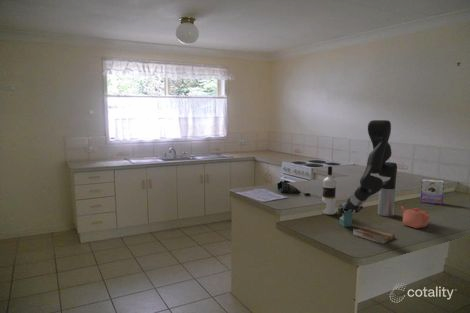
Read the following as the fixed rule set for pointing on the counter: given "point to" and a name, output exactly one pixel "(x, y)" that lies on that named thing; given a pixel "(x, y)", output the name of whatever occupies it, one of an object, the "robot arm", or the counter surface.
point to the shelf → (373, 234)
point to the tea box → (346, 218)
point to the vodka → (329, 193)
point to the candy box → (432, 191)
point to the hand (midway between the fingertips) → (344, 215)
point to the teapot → (415, 217)
